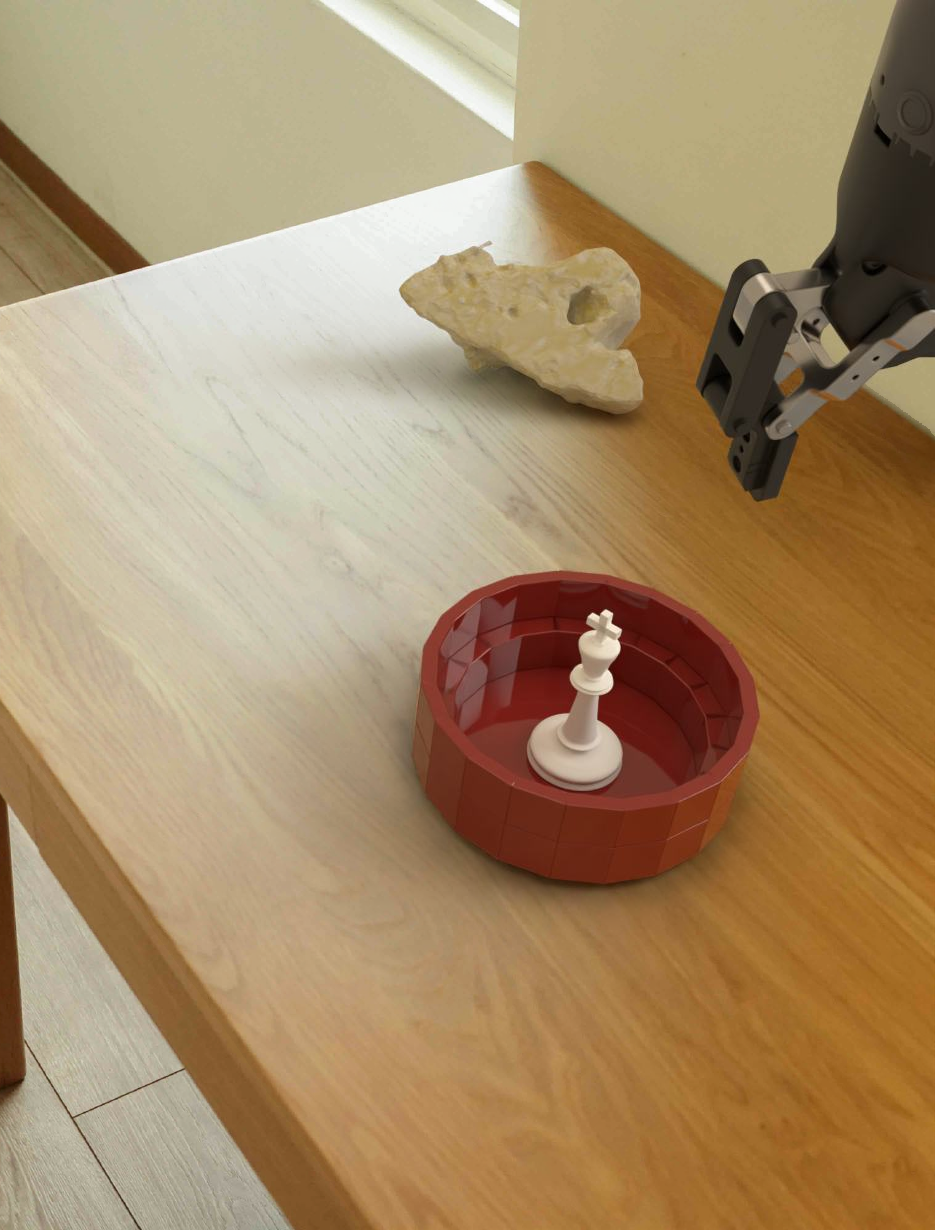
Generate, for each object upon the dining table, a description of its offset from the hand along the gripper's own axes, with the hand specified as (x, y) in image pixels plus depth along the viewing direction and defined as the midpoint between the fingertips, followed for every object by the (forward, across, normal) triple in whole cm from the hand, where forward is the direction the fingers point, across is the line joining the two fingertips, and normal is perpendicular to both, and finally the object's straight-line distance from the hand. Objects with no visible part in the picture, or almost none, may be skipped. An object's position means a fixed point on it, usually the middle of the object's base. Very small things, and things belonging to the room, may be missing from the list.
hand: (855, 460), depth 59 cm
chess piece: (+25, +7, -4) cm, 26 cm away
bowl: (+25, +7, -4) cm, 26 cm away
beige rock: (+32, -3, -37) cm, 49 cm away
